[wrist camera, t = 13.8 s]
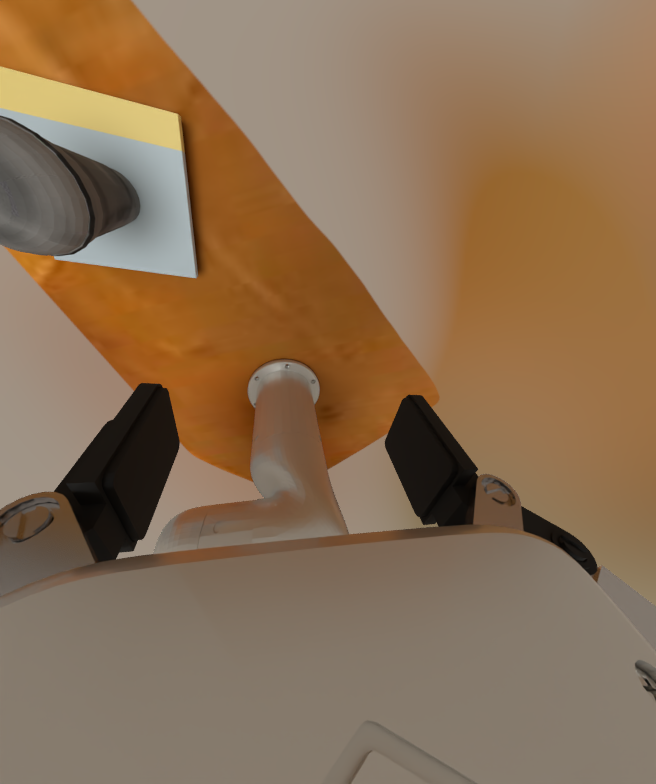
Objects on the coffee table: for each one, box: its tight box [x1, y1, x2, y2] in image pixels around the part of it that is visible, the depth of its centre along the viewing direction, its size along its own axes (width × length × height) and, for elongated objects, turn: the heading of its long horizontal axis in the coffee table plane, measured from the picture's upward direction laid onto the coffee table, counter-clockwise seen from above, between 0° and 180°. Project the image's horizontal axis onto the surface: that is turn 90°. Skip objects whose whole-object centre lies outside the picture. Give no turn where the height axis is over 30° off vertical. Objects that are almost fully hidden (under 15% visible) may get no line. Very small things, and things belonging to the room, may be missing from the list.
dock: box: [0, 67, 198, 278], centre depth 27 cm, size 14×14×3 cm
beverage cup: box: [0, 116, 140, 256], centre depth 18 cm, size 7×7×20 cm
